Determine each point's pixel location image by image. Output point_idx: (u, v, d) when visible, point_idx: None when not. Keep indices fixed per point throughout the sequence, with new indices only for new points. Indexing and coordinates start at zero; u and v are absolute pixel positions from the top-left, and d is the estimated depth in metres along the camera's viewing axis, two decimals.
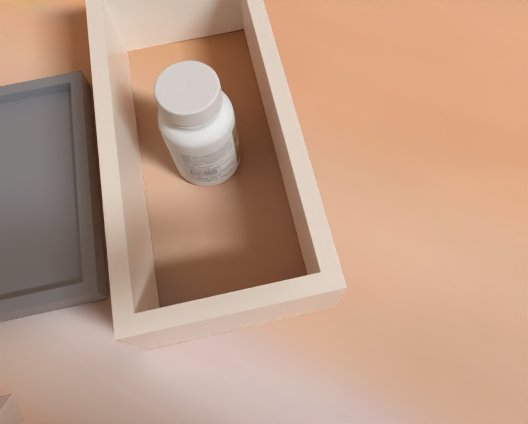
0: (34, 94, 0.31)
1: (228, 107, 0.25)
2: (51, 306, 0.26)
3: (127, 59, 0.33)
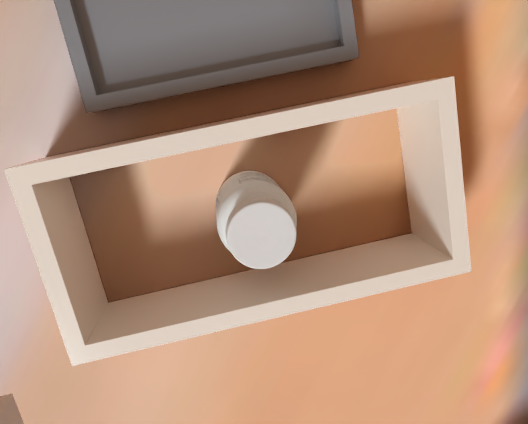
0: None
1: None
2: None
3: None
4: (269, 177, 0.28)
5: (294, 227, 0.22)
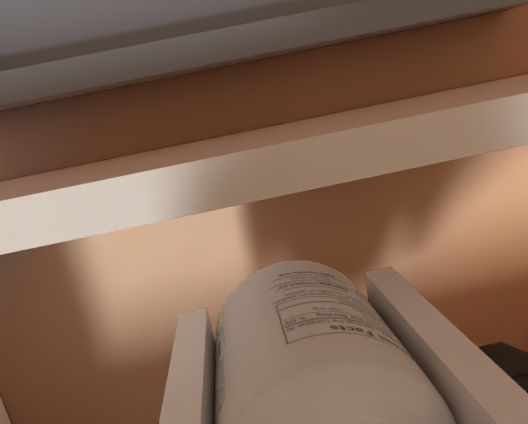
0: None
1: None
2: None
3: None
4: (347, 283, 0.11)
5: None
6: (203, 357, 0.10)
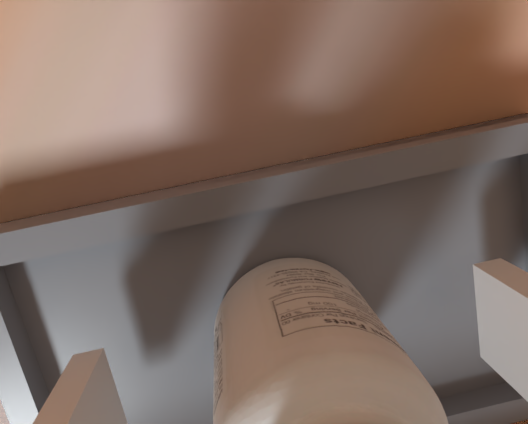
0: None
1: None
2: None
3: None
4: (342, 279, 0.11)
5: None
6: (71, 415, 0.09)
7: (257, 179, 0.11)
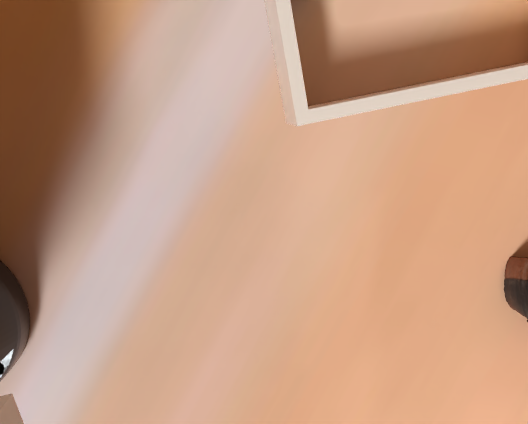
0: None
1: None
2: None
3: None
4: None
5: None
6: None
7: None
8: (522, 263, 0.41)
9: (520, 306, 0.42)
